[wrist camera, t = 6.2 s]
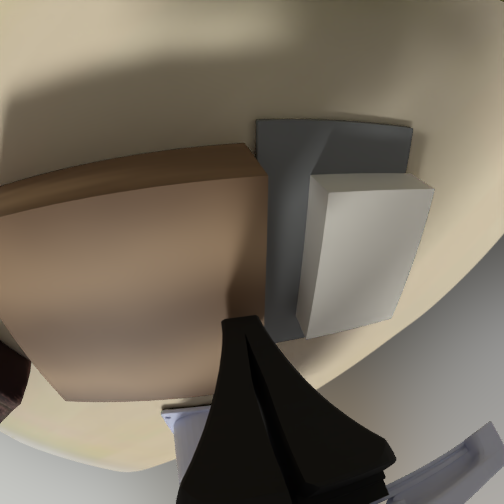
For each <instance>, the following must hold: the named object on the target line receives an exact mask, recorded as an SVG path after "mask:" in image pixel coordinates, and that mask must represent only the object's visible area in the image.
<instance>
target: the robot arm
mask: <svg viewBox="0 0 504 504" xmlns="http://www.w3.org/2000/svg"><path fill="white" fill-rule="evenodd" d="M221 326H222V351H221V359H220V366H219V372H218V377H217V382H216V387H215V392H214V396H213V400H212V404H211V405H209V406H201V407H191V408H181V409H169V410H162V411H161V416H162V418H163V419H164V421H165V422H166V424H167V425H168V427H169V428H170V430H171V431H172V433H173V434H174V441H175V450H176V460H177V468H178V476H179V484H180V487H179V491H178V495H177V500H176V504H378V503H380V502H382V501H385V500H387V499H388V500H387V503H386V504H464V503H465V502H466V501H467V500H469V499H470V498H471V497H472V496H473V495H474V494H475V493H476V492H477V491H478V490H479V489H480V488H481V487H482V486H483V485H484V484H485V483H486V482H487V481H488V480H489V479H490V478H491V477H493V476H494V475H495V474H496V473H497V472H498V471H499V470H500V469H501V468H502V467H503V466H504V444H503V442H502V441H501V439H500V437H499V435H498V433H497V431H496V429H495V427H494V426H493V424H492V422H491V421H489V422H488V423H487V424H485V425H484V426H483V427H482V428H480V429H479V430H477V431H476V432H475V433H473V434H472V435H471V436H469V437H468V438H467V439H465V441H463V442H462V443H460V444H459V445H457V446H456V447H454V448H453V449H451V450H450V451H448V452H447V453H445V454H443V455H442V456H440V457H438V458H437V459H435V460H433V461H432V462H430V463H428V464H426V465H425V466H423V467H421V468H419V469H418V470H416V471H414V472H412V473H410V474H408V475H406V476H404V477H402V478H400V479H398V480H396V481H394V482H392V483H390V484H388V485H385V483H384V481H383V479H385V474H384V472H383V470H385V469H386V468H388V467H389V466H391V465H392V464H394V463H395V461H396V457H395V455H394V452H393V451H392V449H391V448H390V446H389V444H388V443H387V441H386V440H385V439H384V438H382V437H380V436H379V435H377V434H375V433H373V432H371V431H370V430H368V429H366V428H365V427H363V426H362V425H360V424H358V423H357V422H355V421H354V420H353V419H351V418H350V417H348V416H347V415H345V414H344V413H343V412H341V411H340V410H339V409H338V408H336V407H335V406H334V405H332V404H331V403H330V402H329V401H328V400H326V399H325V398H324V397H323V396H322V395H321V394H320V393H318V392H317V391H316V390H315V389H314V388H313V387H312V386H311V385H310V384H309V383H308V382H307V381H306V380H305V379H304V378H303V377H302V376H301V375H300V373H299V372H298V371H297V370H296V369H295V368H294V367H293V366H292V364H291V363H290V362H289V361H288V360H287V358H286V357H285V356H284V354H283V353H282V352H281V351H280V349H279V348H278V347H277V345H276V344H275V342H274V341H273V340H272V338H271V337H270V335H269V334H268V332H267V331H266V329H265V327H264V326H263V324H262V322H261V320H260V319H259V317H258V316H257V315H251V316H244V317H236V318H229V319H224V320H222V321H221Z"/></svg>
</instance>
